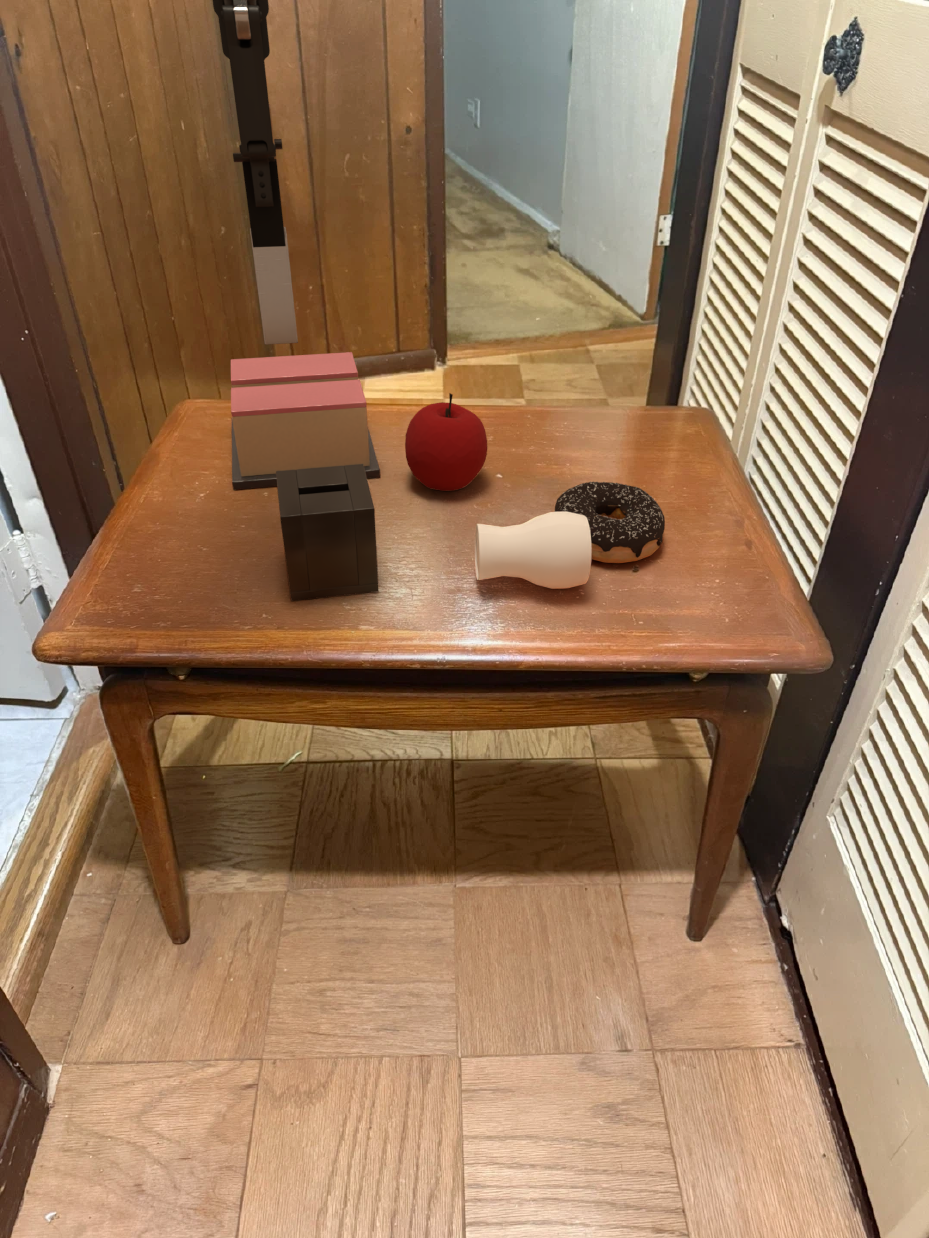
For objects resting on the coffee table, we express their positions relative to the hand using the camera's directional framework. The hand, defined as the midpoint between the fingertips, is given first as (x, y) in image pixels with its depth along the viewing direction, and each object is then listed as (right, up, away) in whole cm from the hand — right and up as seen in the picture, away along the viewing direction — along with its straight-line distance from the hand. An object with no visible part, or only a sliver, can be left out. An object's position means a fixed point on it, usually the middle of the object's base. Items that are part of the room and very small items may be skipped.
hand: (269, 240), depth 74 cm
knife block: (+4, -28, +8) cm, 29 cm away
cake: (-2, -13, +27) cm, 30 cm away
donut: (+31, -24, +14) cm, 42 cm away
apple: (+15, -17, +22) cm, 32 cm away
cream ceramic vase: (+23, -29, +8) cm, 38 cm away
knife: (0, -7, +6) cm, 9 cm away
